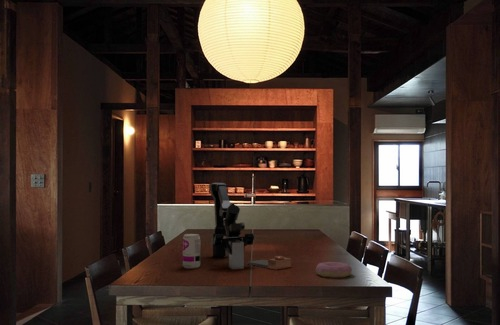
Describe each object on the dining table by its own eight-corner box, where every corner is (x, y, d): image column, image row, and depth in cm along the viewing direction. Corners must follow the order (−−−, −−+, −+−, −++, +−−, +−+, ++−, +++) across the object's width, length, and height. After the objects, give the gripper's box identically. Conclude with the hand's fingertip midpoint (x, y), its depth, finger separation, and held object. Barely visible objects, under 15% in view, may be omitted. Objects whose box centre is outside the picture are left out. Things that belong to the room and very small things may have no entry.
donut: (327, 280, 207) (327, 267, 207) (308, 273, 221) (308, 262, 221) (359, 277, 213) (359, 265, 213) (339, 271, 227) (339, 260, 227)
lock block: (229, 267, 235) (229, 239, 236) (240, 266, 237) (240, 239, 237) (232, 269, 230) (232, 241, 230) (243, 268, 231) (243, 240, 232)
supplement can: (186, 269, 230) (186, 236, 231) (180, 266, 238) (180, 234, 238) (202, 267, 234) (203, 235, 234) (196, 264, 241) (196, 233, 242)
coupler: (247, 264, 243) (247, 253, 243) (262, 261, 249) (262, 251, 250) (275, 269, 229) (275, 258, 229) (290, 267, 236) (290, 256, 236)
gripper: (214, 217, 235) (220, 243, 224) (253, 216, 240) (260, 242, 229) (211, 232, 242) (216, 259, 231) (248, 231, 248) (255, 257, 237)
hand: (237, 254), depth 232 cm, fingers closed on lock block, 5 cm apart
